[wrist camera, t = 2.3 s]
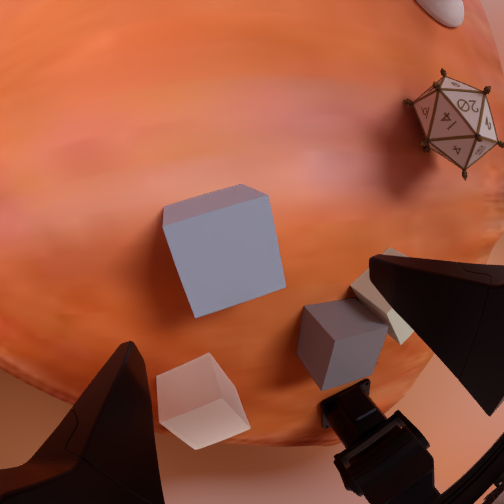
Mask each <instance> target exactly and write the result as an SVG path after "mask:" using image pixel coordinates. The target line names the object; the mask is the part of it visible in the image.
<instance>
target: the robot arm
mask: <svg viewBox="0 0 504 504" xmlns="http://www.w3.org/2000/svg"><path fill="white" fill-rule="evenodd" d="M369 278H370V281H371V283H372V284H373V285H374V286H375V288H376V289H377V290H378V291H379V292H380V294H381V295H382V296H383V297H384V299H385V300H386V301H387V302H388V304H389V305H390V306H391V307H392V308H393V309H394V311H395V312H396V313H397V314H398V315H399V316H400V317H401V318H402V319H403V320H404V321H405V322H406V323H407V324H408V325H409V326H410V327H411V328H412V329H413V330H414V331H415V332H416V333H417V335H418V336H419V337H420V338H421V339H422V340H423V341H424V342H425V343H426V344H427V345H428V346H429V347H430V348H431V350H432V351H433V352H434V353H435V354H436V355H437V356H438V357H439V358H440V359H441V361H442V362H443V363H444V364H445V365H446V366H447V367H448V368H449V370H450V371H451V372H452V373H453V374H454V375H455V376H456V377H457V378H458V379H459V381H460V382H461V384H462V385H463V386H464V387H465V388H466V389H467V390H468V392H469V393H470V394H471V395H472V397H473V398H474V399H475V400H476V401H477V403H478V404H479V405H480V406H481V407H482V409H483V410H484V411H485V412H486V414H487V415H488V416H491V415H492V414H493V413H494V412H495V410H496V409H497V408H498V407H499V406H500V404H501V403H502V402H503V401H504V266H503V265H485V264H471V263H461V262H451V261H442V260H432V259H422V258H412V257H402V256H392V255H382V254H378V255H375V256H373V257H371V258H370V259H369ZM369 389H370V380H369V379H365V380H363V381H361V382H360V383H358V384H356V385H354V386H352V387H350V388H348V389H346V390H344V391H342V392H340V393H338V394H336V395H334V396H332V397H330V398H328V399H326V400H324V401H323V402H322V403H321V416H322V427H323V429H327V428H329V427H332V428H333V430H334V431H335V433H336V434H337V436H338V437H339V439H340V440H341V442H342V443H343V445H344V446H345V448H346V449H345V450H344V451H342V452H341V453H339V454H336V455H335V456H334V458H335V460H334V464H335V466H336V467H337V469H338V471H339V473H340V475H341V478H342V480H343V483H344V486H345V488H346V489H347V490H349V491H353V492H354V493H356V494H357V495H358V496H362V495H364V496H365V498H366V499H367V500H368V502H369V503H370V504H473V503H474V502H475V501H476V500H478V499H479V498H480V496H482V495H483V494H484V493H485V492H486V490H487V489H488V488H489V487H490V486H491V485H492V484H494V485H495V486H496V487H497V488H496V489H495V490H493V491H492V492H491V493H490V494H489V495H487V496H486V497H485V498H484V502H483V503H482V504H504V432H503V434H502V435H501V436H500V437H499V438H498V439H497V441H496V442H495V443H494V444H493V445H492V446H491V448H490V449H489V450H488V451H487V452H486V453H485V454H484V455H483V456H482V457H481V458H480V459H479V460H478V461H477V462H476V463H475V464H474V465H473V466H472V467H471V468H470V469H469V470H468V471H467V472H466V473H465V474H464V475H463V476H462V477H461V478H460V479H459V480H458V481H456V482H455V483H454V484H453V485H452V486H451V487H450V488H448V489H447V490H446V491H445V492H444V493H442V494H440V493H439V492H438V490H437V489H436V488H435V486H434V460H433V457H432V456H431V455H430V453H429V452H428V451H427V450H426V449H427V448H429V447H430V445H429V443H428V441H427V440H426V438H425V437H424V436H423V434H422V433H421V432H420V431H419V430H418V429H417V428H416V427H415V426H414V425H413V424H412V423H411V422H410V421H409V420H408V419H407V418H406V417H405V416H404V415H403V414H402V413H401V412H400V411H399V410H397V411H396V412H394V414H393V415H392V416H391V417H389V418H388V419H387V417H386V416H385V415H384V414H383V413H382V411H381V410H380V409H379V408H378V407H377V405H376V404H375V403H374V402H373V401H372V399H371V398H370V397H369ZM72 408H73V409H70V411H69V412H68V414H67V415H66V416H65V418H64V419H63V420H62V422H61V423H60V425H59V426H58V427H57V428H56V429H55V430H54V432H53V433H52V434H51V435H50V436H49V438H48V439H47V440H46V441H45V442H44V444H43V445H42V446H41V447H40V448H39V449H38V451H37V452H36V453H35V454H34V456H33V457H32V458H31V459H30V460H29V461H27V462H26V463H25V464H23V465H21V466H18V467H14V468H8V469H0V504H165V502H164V497H163V492H162V486H161V480H160V474H159V467H158V460H157V453H156V444H155V435H154V425H153V414H152V402H151V396H150V390H149V385H148V379H147V373H146V367H145V362H144V359H143V357H142V356H141V354H140V352H139V351H138V349H137V347H136V345H135V344H134V342H132V341H128V342H125V343H122V344H121V345H120V346H119V347H118V348H117V350H116V351H115V352H114V353H113V355H112V356H111V357H110V358H109V360H108V361H107V362H106V364H105V365H104V366H103V367H102V369H101V370H100V371H99V373H98V374H97V375H96V376H95V378H94V379H93V380H92V382H91V383H90V384H89V386H88V387H87V388H86V389H85V391H84V392H83V393H82V395H81V396H80V397H79V399H78V400H77V401H76V403H75V404H74V405H73V407H72ZM400 427H402V429H401V428H400Z"/></svg>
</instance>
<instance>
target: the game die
mask: <svg viewBox="0 0 504 504" xmlns="http://www.w3.org/2000/svg"><path fill="white" fill-rule="evenodd" d="M440 72H441V75H442V76H443V77H442V78H441V79H440V80H439V81H437V82H434V83H433V86H431V87H430V88H429V89H428V90H427V91H425V92H424V93H423V94H422V95H421V96H420V97H418V98H417V99H416V100H415V101H414V102H412V101H411V100H408V99H406V100H403V101H404V102H405V103H406V105H407V104H408V105H409V106H410V105H412V106H413V108H414V110H415V112H416V115H417V117H418V120H419V122H420V125H421V128H422V130H423V133H424V136H425V138H426V139H423V140H421V144H420V146H426V145H428V146H426V147H425V148H424V152H429V151H430V149H432V150H434V151H435V152H437V153H438V154H440V155H442V156H443V157H445V158H446V159H448V160H449V161H451V162H452V163H454V164H455V165H456V166H458V167H459V168H461V169H462V170H463V171H462V176H463V178H464V179H465V181H466V178H467V172H466V169H467V168H468V167H470V166H471V165H472V164H473V163H475V162H476V161H477V160H478V159H480V158H481V157H482V156H483V155H485V154H486V153H487V152H488V151H489V150H491V149H492V148H493V147H494V146H495V145H497V144H498V145H499V147H501V148H504V142H501V141H498V138H497V134H496V129H495V125H494V121H493V117H492V114H491V110H490V107H489V103H488V100H487V97H486V94H489V92H490V89H491V86H488V87H486V86H485V88H484V91H481V90H479V89H476V88H474V87H472V86H469V85H467V84H465V83H462V82H460V81H457V80H454V79H452V78H449V77H447V76H446V74H447V73H446V71H445V70H444V69H443V68H441V71H440Z"/></svg>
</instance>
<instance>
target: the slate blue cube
mask: <svg viewBox="0 0 504 504" xmlns="http://www.w3.org/2000/svg"><path fill="white" fill-rule="evenodd" d="M162 227H163V230H164V233H165V236H166V239H167V242H168V245H169V248H170V251H171V254H172V257H173V260H174V262H175V265H176V268H177V271H178V274H179V276H180V279H181V282H182V285H183V287H184V290H185V293H186V295H187V298H188V301H189V303H190V306H191V308H192V311H193V313H194V316H195V318H198V317H201V316H204V315H207V314H210V313H213V312H216V311H219V310H222V309H225V308H228V307H231V306H234V305H237V304H240V303H243V302H246V301H249V300H252V299H254V298H257V297H260V296H263V295H266V294H269V293H271V292H274V291H277V290H280V289H283V288H285V287H286V283H285V278H284V272H283V267H282V262H281V256H280V251H279V246H278V241H277V236H276V230H275V225H274V220H273V215H272V210H271V205H270V200H269V196H268V195H267V194H264V193H262V192H260V191H258V190H255V189H253V188H250V187H248V186H246V185H243V184H239V185H235V186H232V187H228V188H225V189H221V190H217V191H214V192H210V193H207V194H204V195H200V196H197V197H193V198H190V199H187V200H184V201H180V202H177V203H174V204H171V205H168V206H164V212H163V226H162Z"/></svg>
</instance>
